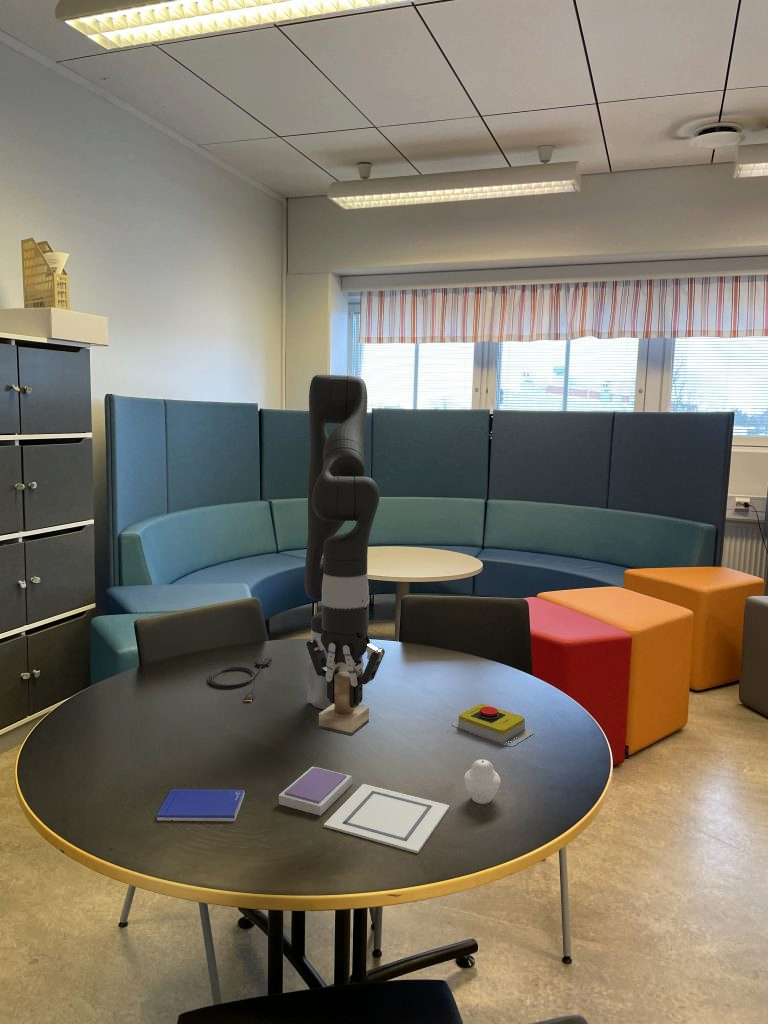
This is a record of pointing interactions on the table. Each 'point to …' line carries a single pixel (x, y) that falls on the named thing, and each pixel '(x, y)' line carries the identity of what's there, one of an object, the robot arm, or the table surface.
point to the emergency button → (493, 724)
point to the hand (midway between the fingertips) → (344, 703)
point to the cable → (259, 663)
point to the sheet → (388, 817)
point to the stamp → (343, 710)
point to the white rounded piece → (482, 781)
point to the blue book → (201, 805)
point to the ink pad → (315, 790)
